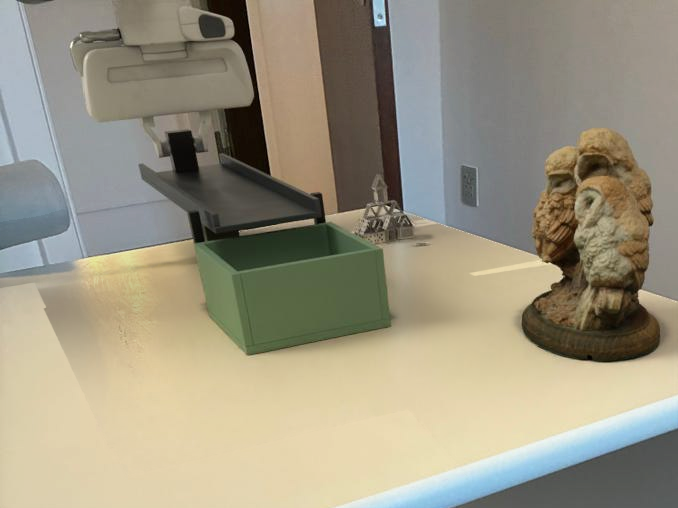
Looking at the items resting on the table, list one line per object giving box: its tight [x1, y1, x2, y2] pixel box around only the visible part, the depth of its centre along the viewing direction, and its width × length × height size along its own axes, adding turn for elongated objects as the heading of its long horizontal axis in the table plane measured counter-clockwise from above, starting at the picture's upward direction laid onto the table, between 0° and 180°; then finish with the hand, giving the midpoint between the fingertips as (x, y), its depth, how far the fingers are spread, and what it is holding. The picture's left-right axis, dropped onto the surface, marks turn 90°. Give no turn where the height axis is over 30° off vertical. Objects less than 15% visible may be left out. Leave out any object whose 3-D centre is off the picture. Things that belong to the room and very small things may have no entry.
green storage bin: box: [193, 221, 392, 356], centre depth 95 cm, size 15×15×7 cm
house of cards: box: [352, 173, 429, 247], centre depth 120 cm, size 9×9×8 cm
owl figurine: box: [521, 126, 661, 362], centre depth 85 cm, size 18×12×17 cm, turn 21°
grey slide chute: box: [138, 128, 322, 234], centre depth 108 cm, size 11×38×5 cm, turn 27°
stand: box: [186, 191, 327, 309], centre depth 108 cm, size 14×21×10 cm, turn 27°
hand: (182, 154), depth 121 cm, fingers open, 3 cm apart
